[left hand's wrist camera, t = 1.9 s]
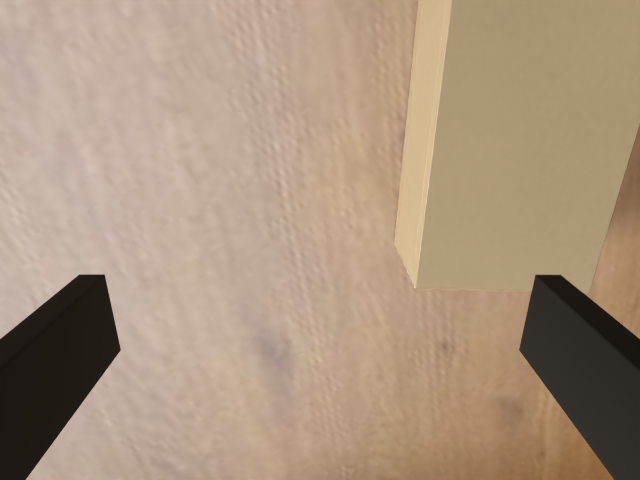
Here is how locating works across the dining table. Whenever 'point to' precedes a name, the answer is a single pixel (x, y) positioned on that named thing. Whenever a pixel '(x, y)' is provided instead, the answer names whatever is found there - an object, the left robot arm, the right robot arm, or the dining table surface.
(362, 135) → the dining table surface
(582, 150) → the cabinet
